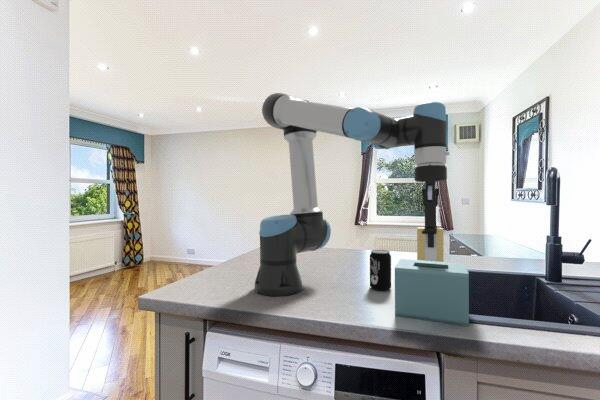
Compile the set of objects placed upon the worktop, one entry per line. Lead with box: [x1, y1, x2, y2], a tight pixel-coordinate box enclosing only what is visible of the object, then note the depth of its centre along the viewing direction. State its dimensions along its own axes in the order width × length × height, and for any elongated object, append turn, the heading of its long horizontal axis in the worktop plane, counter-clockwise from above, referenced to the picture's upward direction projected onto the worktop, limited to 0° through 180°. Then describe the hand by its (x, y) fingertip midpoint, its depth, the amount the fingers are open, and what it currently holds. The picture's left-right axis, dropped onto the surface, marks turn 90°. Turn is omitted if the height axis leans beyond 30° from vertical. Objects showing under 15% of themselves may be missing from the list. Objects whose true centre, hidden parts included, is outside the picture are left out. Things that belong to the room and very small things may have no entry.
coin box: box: [394, 258, 470, 327], centre depth 78 cm, size 16×12×12 cm
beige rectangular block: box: [416, 226, 445, 262], centre depth 78 cm, size 6×3×8 cm, turn 66°
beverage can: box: [369, 249, 392, 292], centre depth 99 cm, size 7×7×12 cm
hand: (431, 258), depth 78 cm, fingers closed on beige rectangular block, 3 cm apart
